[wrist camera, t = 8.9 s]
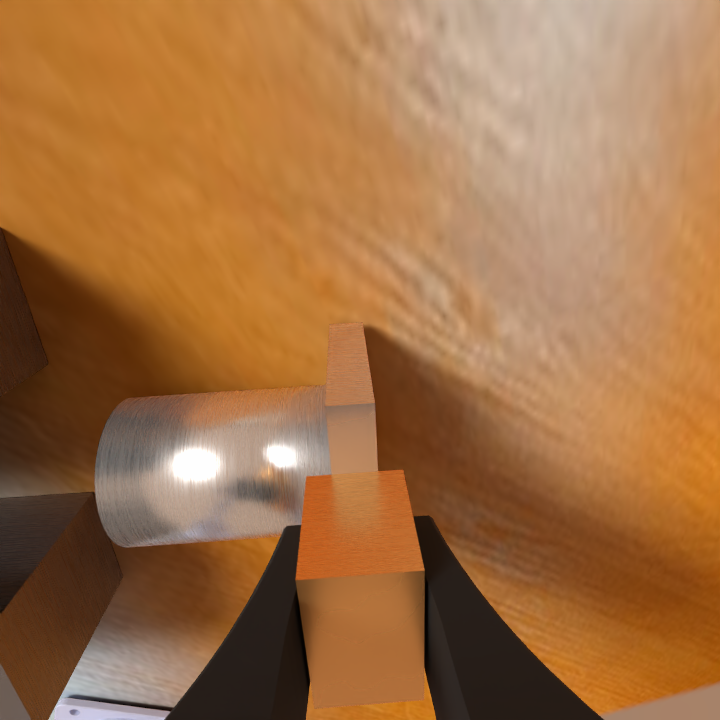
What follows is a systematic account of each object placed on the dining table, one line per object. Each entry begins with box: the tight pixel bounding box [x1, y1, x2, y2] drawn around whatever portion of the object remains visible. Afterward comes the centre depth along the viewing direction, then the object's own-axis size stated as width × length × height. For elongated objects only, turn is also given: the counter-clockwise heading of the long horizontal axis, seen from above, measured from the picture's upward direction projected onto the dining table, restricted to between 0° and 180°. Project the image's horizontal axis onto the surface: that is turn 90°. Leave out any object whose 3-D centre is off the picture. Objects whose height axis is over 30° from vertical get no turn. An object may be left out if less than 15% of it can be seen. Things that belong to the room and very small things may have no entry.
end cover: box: [95, 322, 425, 709], centre depth 14 cm, size 9×8×9 cm
